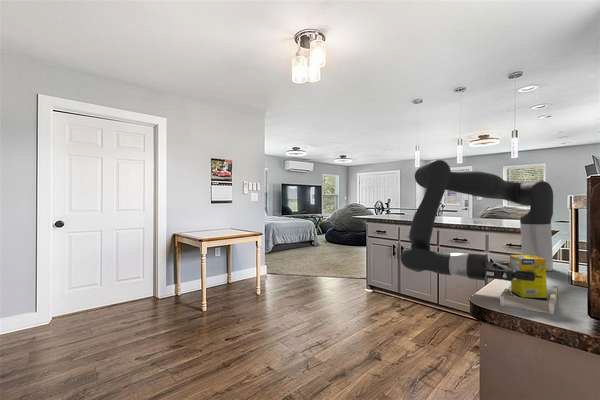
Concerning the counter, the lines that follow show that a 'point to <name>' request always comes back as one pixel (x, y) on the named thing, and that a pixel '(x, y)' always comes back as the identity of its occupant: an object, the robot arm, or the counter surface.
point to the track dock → (529, 302)
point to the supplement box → (525, 287)
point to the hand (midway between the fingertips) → (536, 273)
